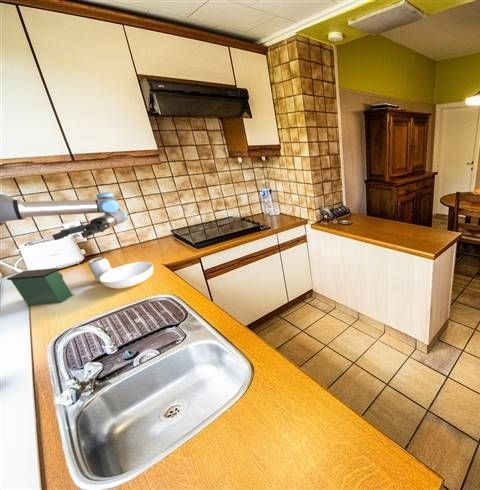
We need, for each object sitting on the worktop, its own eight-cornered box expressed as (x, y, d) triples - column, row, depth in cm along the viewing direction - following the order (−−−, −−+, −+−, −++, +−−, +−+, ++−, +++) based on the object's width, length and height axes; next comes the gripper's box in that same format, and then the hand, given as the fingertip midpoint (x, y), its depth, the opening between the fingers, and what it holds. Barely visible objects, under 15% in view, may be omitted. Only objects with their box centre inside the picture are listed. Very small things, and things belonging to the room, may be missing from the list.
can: (114, 274, 146) (105, 255, 141) (117, 278, 142) (107, 258, 137) (96, 280, 141) (85, 260, 136) (98, 284, 136) (87, 264, 132)
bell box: (25, 306, 121) (6, 278, 115) (41, 297, 128) (24, 270, 122) (60, 303, 122) (43, 275, 116) (74, 294, 129) (59, 267, 123)
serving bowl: (104, 299, 123) (97, 286, 121) (107, 282, 138) (101, 270, 136) (158, 282, 135) (153, 271, 132) (155, 268, 150) (151, 257, 147)
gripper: (127, 227, 157) (97, 241, 138) (82, 230, 155) (46, 245, 136) (122, 215, 154) (91, 227, 134) (76, 218, 152) (38, 231, 133)
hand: (68, 236), depth 135 cm, fingers open, 13 cm apart
